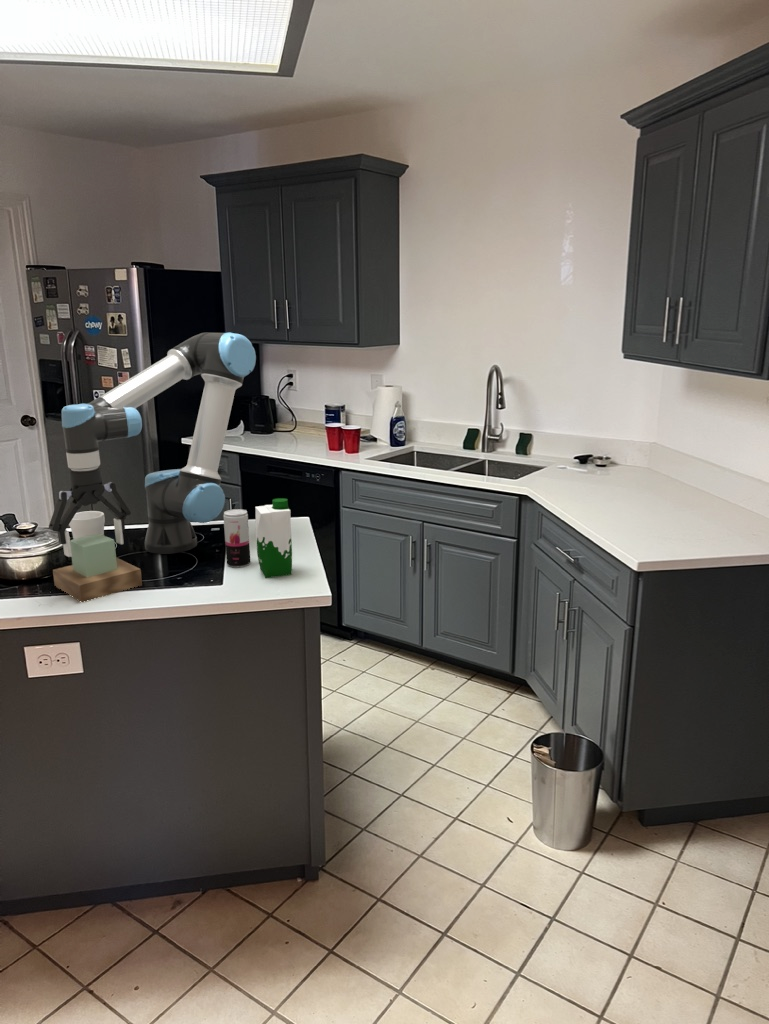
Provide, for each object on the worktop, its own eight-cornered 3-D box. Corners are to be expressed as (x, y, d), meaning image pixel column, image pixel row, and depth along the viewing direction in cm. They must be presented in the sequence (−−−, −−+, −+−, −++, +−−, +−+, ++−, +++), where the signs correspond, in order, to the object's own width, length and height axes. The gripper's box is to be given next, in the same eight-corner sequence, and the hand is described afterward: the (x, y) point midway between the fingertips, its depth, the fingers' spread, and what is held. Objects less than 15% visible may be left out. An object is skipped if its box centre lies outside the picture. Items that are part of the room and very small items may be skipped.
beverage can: (239, 569, 205) (236, 516, 201) (221, 565, 209) (218, 513, 205) (255, 562, 211) (252, 510, 207) (237, 558, 214) (234, 507, 210)
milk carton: (295, 575, 200) (292, 502, 195) (262, 579, 197) (258, 506, 192) (288, 565, 208) (285, 495, 203) (255, 569, 205) (251, 498, 200)
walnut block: (113, 572, 205) (111, 555, 204) (142, 587, 194) (140, 569, 193) (55, 588, 194) (52, 569, 193) (81, 604, 183) (79, 585, 182)
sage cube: (102, 562, 198) (99, 533, 196) (117, 569, 193) (114, 539, 191) (73, 570, 193) (69, 540, 190) (87, 577, 187) (83, 546, 185)
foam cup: (71, 566, 209) (66, 521, 206) (75, 555, 218) (69, 512, 214) (107, 562, 212) (102, 518, 208) (109, 552, 220) (105, 509, 217)
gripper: (125, 458, 197) (133, 535, 203) (26, 473, 180) (39, 557, 186) (138, 462, 192) (146, 541, 197) (39, 478, 175) (51, 564, 181)
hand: (94, 549), depth 192 cm, fingers open, 13 cm apart
